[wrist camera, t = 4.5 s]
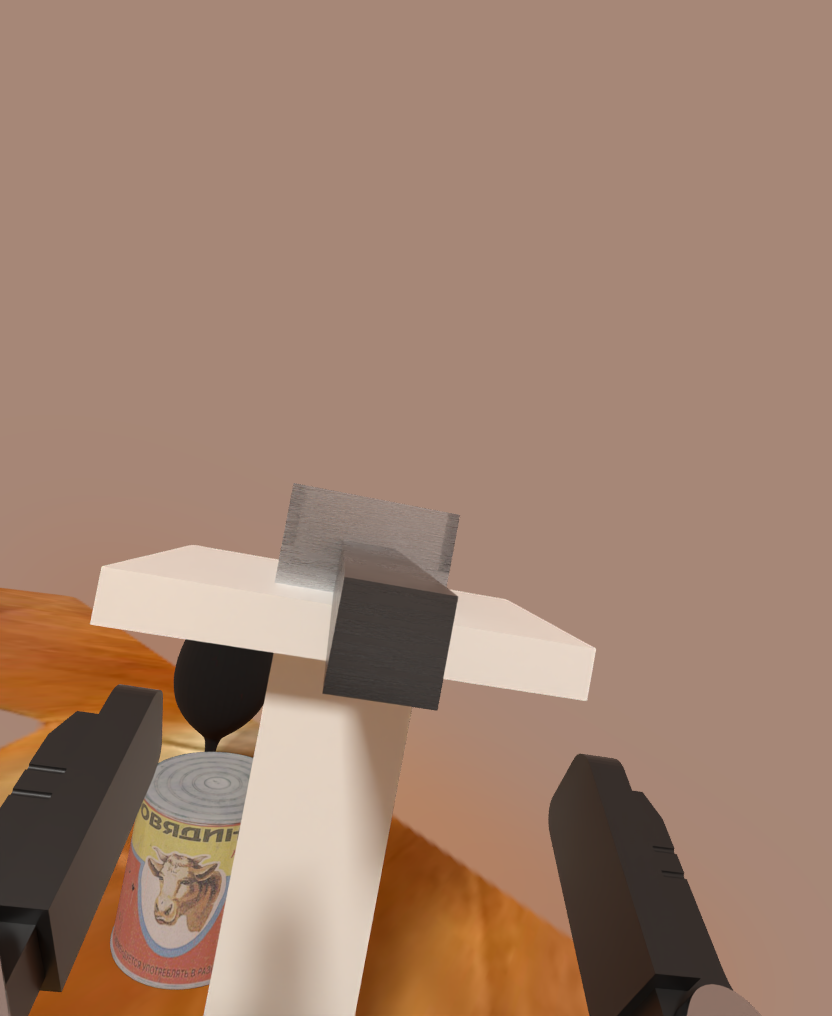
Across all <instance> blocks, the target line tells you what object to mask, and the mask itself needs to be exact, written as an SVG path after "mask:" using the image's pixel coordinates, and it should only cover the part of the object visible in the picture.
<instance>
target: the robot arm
mask: <svg viewBox="0 0 832 1016" xmlns="http://www.w3.org/2000/svg"><path fill="white" fill-rule="evenodd" d="M162 710H163V694H162V691H161V690H155V689H148V688H141V687H134V686H127V685H121V684H120V685H117V686H116V687H115V688H114V689H113V691H112V692H111V694H110V695H109V697H108V699H107V701H106V702H105V704H104V706H103V707H102V709H101V711H100V713H99V714H94V713H87V712H80V711H77V712H75V713H74V714H73V715H72V716H70V717H69V718H68V719H67V720H65V721H64V722H63V723H62V724H61V725H59V726H58V727H57V728H56V729H54V730H53V731H52V732H51V733H49V734H48V736H47V737H46V739H45V740H44V742H43V743H42V745H41V746H40V748H39V749H38V751H37V752H36V754H35V756H34V757H33V759H32V760H31V762H30V763H29V767H28V769H27V770H25V771H24V772H23V774H22V775H21V777H20V779H19V780H18V782H17V783H16V785H15V786H14V788H13V792H12V793H11V795H8V797H7V798H6V800H5V802H4V803H3V805H2V806H1V808H0V1016H28V1014H29V1012H30V1010H31V1008H32V1006H33V1003H34V1001H35V999H36V997H37V995H38V992H39V990H42V991H53V992H62V990H63V987H64V985H65V983H66V980H67V978H68V976H69V973H70V971H71V969H72V966H73V964H74V962H75V959H76V957H77V955H78V952H79V950H80V948H81V945H82V943H83V941H84V938H85V936H86V934H87V931H88V929H89V927H90V924H91V922H92V920H93V917H94V915H95V913H96V910H97V908H98V906H99V903H100V901H101V899H102V896H103V894H104V892H105V889H106V887H107V885H108V882H109V880H110V878H111V875H112V873H113V871H114V868H115V866H116V864H117V861H118V859H119V857H120V854H121V852H122V849H123V847H124V845H125V842H126V840H127V838H128V835H129V833H130V831H131V828H132V826H133V824H134V821H135V819H136V817H137V814H138V812H139V810H140V807H141V805H142V803H143V800H144V798H145V796H146V793H147V791H148V789H149V786H150V784H151V782H152V779H153V777H154V774H155V771H156V768H157V765H158V761H159V757H160V752H161V746H162ZM549 831H550V837H551V841H552V846H553V850H554V855H555V859H556V864H557V869H558V873H559V877H560V882H561V887H562V892H563V896H564V901H565V905H566V910H567V914H568V918H569V923H570V928H571V933H572V937H573V942H574V947H575V951H576V956H577V960H578V965H579V969H580V974H581V979H582V983H583V988H584V992H585V997H586V1002H587V1006H588V1011H589V1015H590V1016H761V1015H760V1014H759V1012H758V1011H757V1010H756V1009H755V1008H754V1007H753V1006H752V1005H751V1004H750V1003H749V1002H748V1001H747V1000H745V999H744V998H743V997H742V996H740V995H739V994H737V993H736V992H734V991H733V989H732V988H731V986H730V984H729V982H728V980H727V978H726V976H725V974H724V971H723V969H722V967H721V964H720V961H719V959H718V956H717V954H716V951H715V949H714V946H713V944H712V941H711V939H710V936H709V934H708V931H707V929H706V926H705V924H704V922H703V919H702V916H701V914H700V911H699V909H698V906H697V904H696V901H695V899H694V896H693V894H692V892H691V889H690V886H689V884H688V882H687V879H684V871H683V869H682V866H681V864H680V862H679V859H678V857H677V854H674V846H673V844H672V842H671V839H670V836H669V834H668V832H667V829H666V826H665V824H664V822H663V819H662V818H661V816H660V815H659V814H658V812H657V811H656V810H655V808H654V807H653V806H652V804H651V803H650V802H649V800H648V799H647V798H646V796H645V795H644V794H643V792H638V791H632V789H631V787H630V785H629V781H628V779H627V776H626V773H625V770H624V768H623V766H622V764H621V763H620V762H619V761H618V760H617V759H613V758H607V757H600V756H593V755H585V754H579V755H577V756H576V757H575V758H574V760H573V761H572V763H571V765H570V767H569V769H568V770H567V773H566V774H565V776H564V778H563V779H562V781H561V783H560V785H559V787H558V789H557V790H556V792H555V794H554V796H553V798H552V800H551V803H550V808H549Z"/></svg>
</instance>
